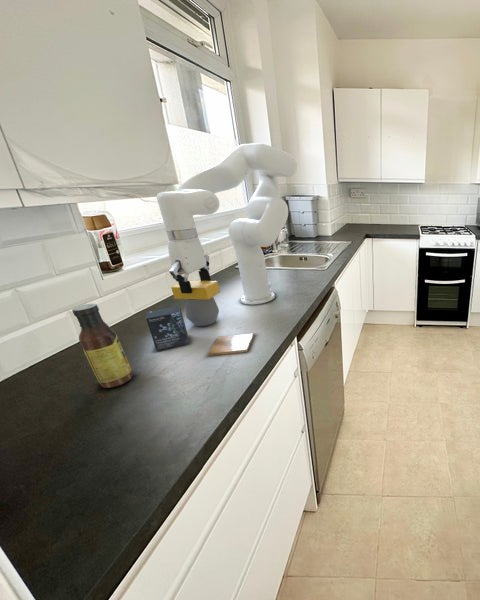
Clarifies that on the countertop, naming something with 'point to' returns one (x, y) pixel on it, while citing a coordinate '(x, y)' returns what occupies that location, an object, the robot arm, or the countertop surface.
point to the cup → (201, 311)
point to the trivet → (231, 344)
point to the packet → (197, 290)
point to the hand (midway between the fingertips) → (197, 287)
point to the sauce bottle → (102, 347)
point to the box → (167, 328)
